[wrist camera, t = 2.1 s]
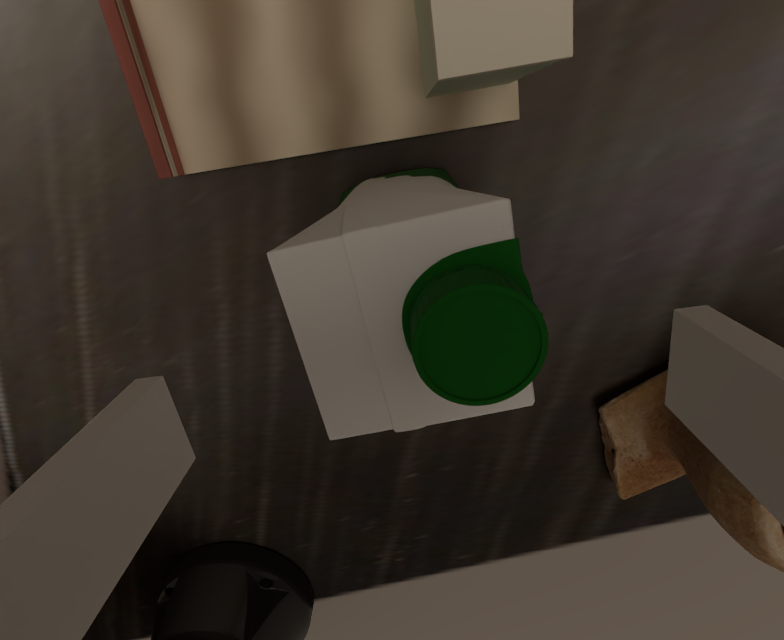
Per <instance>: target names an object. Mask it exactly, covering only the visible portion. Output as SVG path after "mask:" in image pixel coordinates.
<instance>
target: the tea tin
mask: <svg viewBox="0 0 784 640" xmlns="http://www.w3.org/2000/svg"><path fill="white" fill-rule="evenodd" d="M414 4H415V13H416V22H417V30H418V39H419V48H420V57H421V66H422V75H423V84H424V93H425V98H430V97H436V96H441V95H447V94H453V93H459V92H465V91H471V90H476V89H482V88H488V87H494V86H500V85H506V84H510V83H512V82H514V81H517V80H519V79H521V78H523V77H525V76H527V75H530V74H532V73H534V72H536V71H538V70H540V69H542V68H545V67H547V66H549V65H551V64H553V63H555V62H558V61H560V60H566V59H568V58H570V57H572V56H573V0H414Z"/></svg>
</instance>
